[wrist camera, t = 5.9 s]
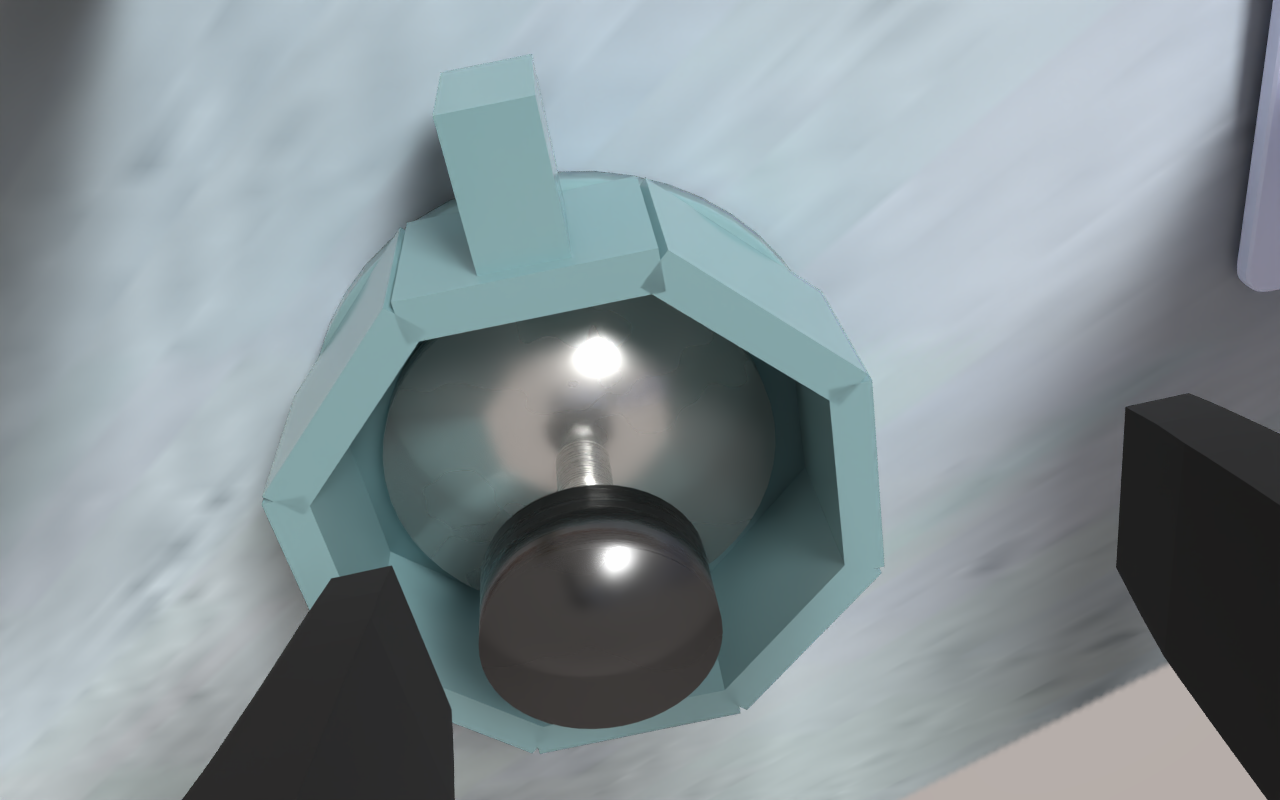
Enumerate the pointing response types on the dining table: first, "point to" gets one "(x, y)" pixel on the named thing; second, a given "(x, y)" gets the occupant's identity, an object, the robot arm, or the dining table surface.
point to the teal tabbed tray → (559, 282)
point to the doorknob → (584, 497)
